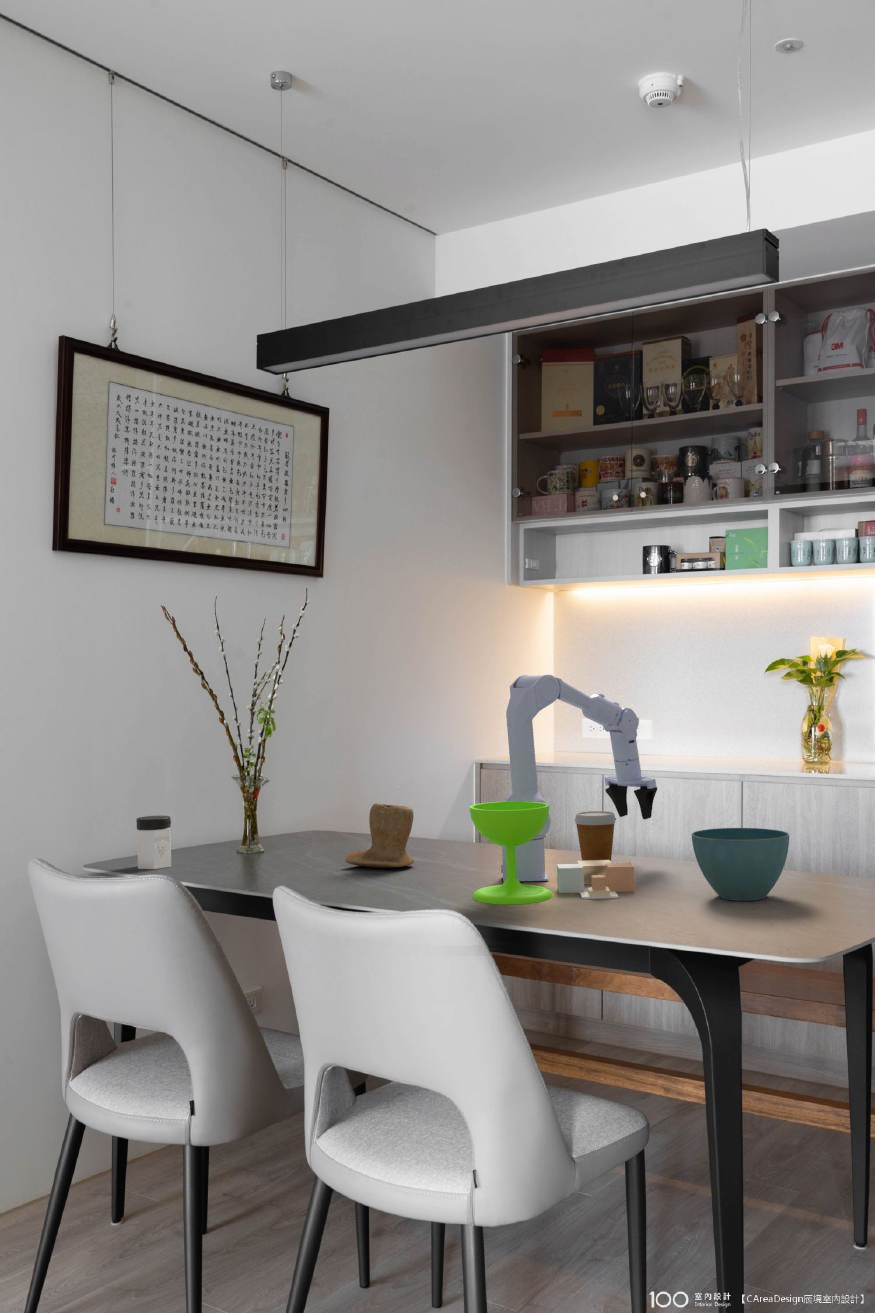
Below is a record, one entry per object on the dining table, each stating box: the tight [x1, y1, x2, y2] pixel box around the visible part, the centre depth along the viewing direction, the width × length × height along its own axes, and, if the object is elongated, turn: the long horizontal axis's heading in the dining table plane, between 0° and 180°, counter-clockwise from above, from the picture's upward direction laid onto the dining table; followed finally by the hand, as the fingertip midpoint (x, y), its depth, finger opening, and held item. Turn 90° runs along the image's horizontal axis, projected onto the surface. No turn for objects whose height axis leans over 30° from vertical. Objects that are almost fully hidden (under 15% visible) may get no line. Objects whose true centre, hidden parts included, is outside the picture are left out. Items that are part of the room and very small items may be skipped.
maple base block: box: [576, 860, 613, 885], centre depth 242 cm, size 7×7×4 cm
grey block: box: [556, 863, 585, 894], centre depth 232 cm, size 5×5×5 cm
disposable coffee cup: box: [573, 810, 617, 862], centre depth 260 cm, size 10×10×12 cm
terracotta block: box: [606, 862, 635, 893], centre depth 232 cm, size 5×5×5 cm
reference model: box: [579, 875, 619, 900], centre depth 225 cm, size 7×5×4 cm
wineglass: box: [469, 801, 553, 905], centre depth 228 cm, size 16×16×18 cm
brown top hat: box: [344, 802, 415, 869], centre depth 269 cm, size 15×12×15 cm
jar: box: [135, 815, 172, 870], centre depth 279 cm, size 9×8×12 cm
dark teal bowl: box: [691, 827, 790, 902], centre depth 220 cm, size 18×18×12 cm
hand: (635, 817), depth 263 cm, fingers open, 7 cm apart
